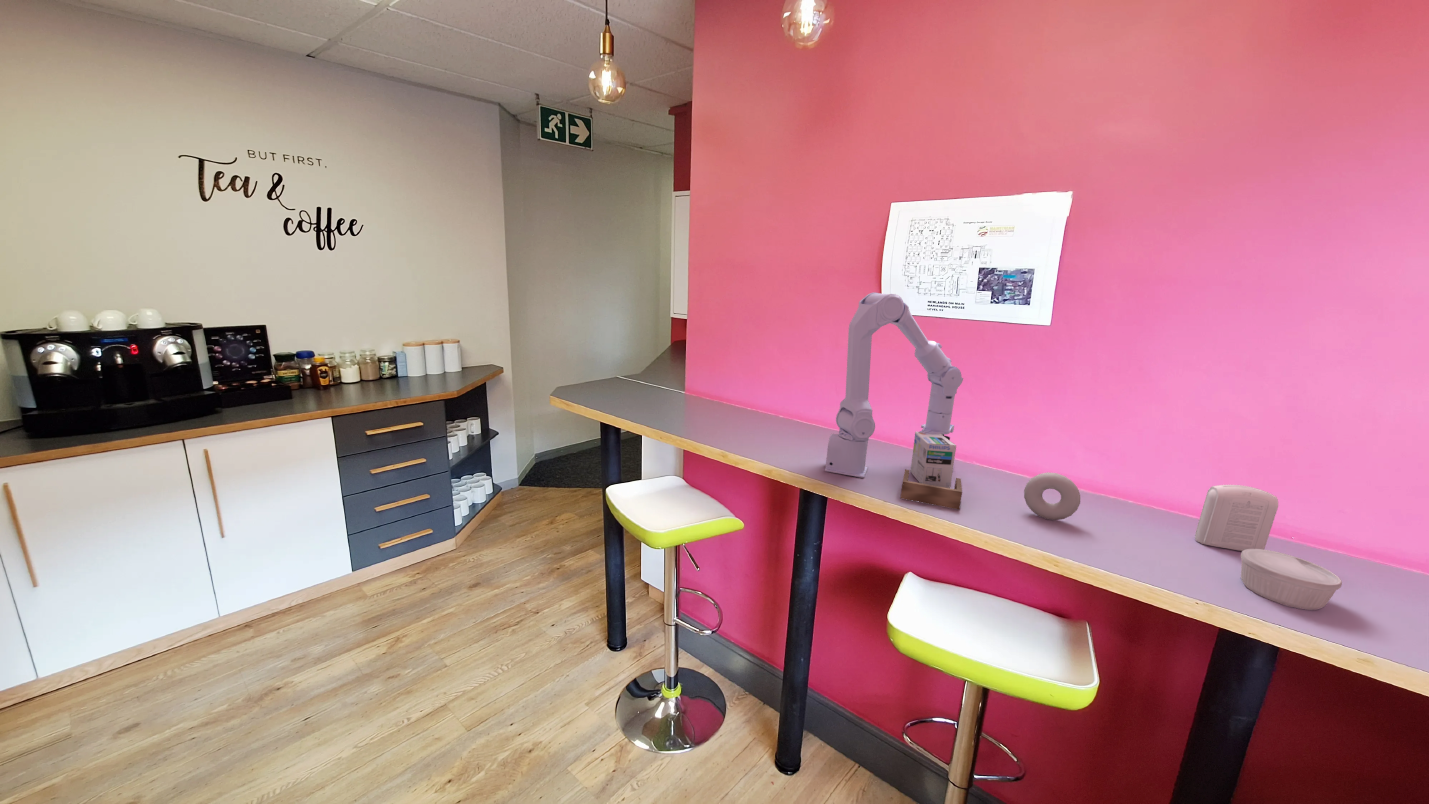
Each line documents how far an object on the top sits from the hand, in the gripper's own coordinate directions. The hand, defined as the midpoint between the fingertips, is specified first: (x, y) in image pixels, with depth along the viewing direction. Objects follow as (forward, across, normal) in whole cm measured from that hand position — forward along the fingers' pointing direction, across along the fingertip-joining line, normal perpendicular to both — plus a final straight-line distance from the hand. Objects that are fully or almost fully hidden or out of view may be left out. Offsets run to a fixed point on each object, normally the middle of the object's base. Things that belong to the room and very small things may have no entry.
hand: (932, 462), depth 139 cm
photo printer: (+2, -9, +56) cm, 57 cm away
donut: (+2, +8, +30) cm, 31 cm away
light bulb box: (+2, +8, +4) cm, 9 cm away
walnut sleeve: (+2, +18, +9) cm, 20 cm away
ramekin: (+2, +8, +64) cm, 65 cm away
